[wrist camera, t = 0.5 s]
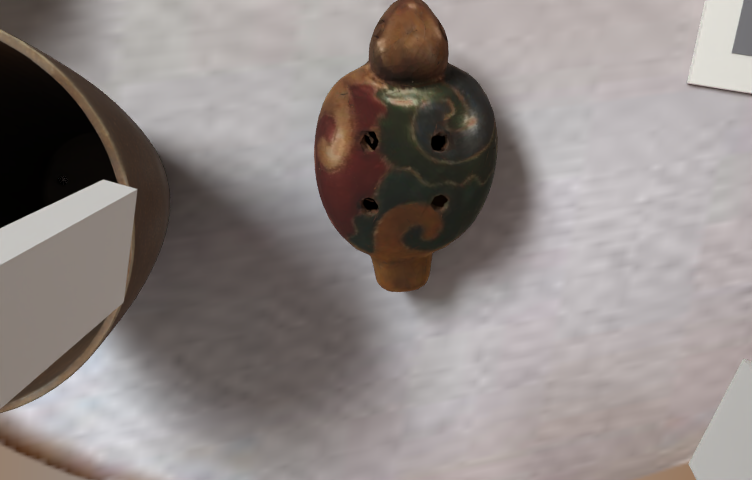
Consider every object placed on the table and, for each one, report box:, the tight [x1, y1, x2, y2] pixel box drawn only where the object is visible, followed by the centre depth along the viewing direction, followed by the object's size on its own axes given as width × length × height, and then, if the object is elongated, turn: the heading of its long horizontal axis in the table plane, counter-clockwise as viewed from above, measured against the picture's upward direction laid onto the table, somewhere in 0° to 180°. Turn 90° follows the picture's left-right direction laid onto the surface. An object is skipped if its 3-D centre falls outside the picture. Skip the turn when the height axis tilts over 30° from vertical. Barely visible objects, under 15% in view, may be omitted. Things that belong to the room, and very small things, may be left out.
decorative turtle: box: [314, 0, 497, 292], centre depth 35 cm, size 10×15×8 cm, turn 4°
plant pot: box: [0, 29, 170, 413], centre depth 31 cm, size 15×15×16 cm
